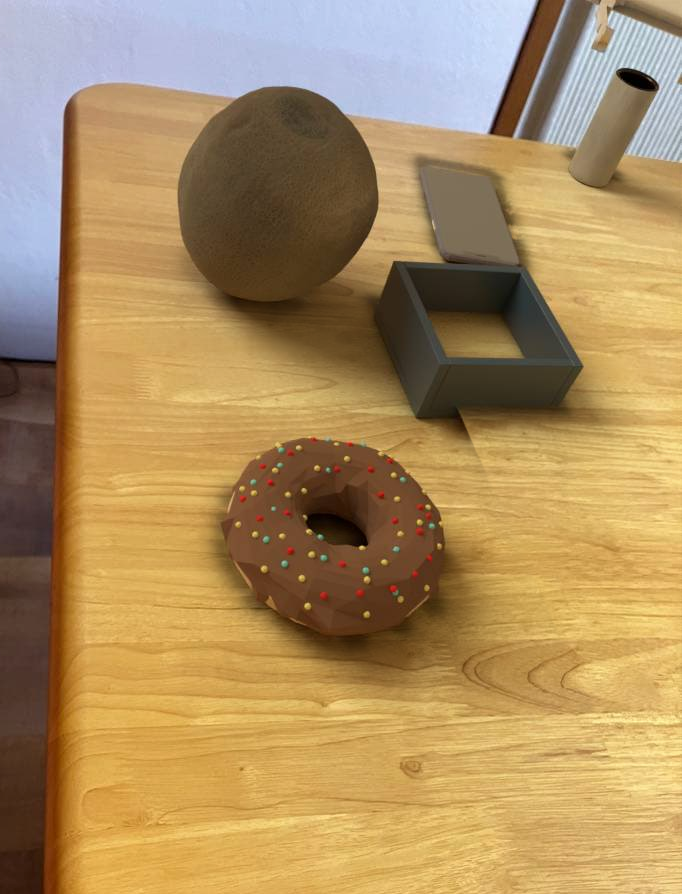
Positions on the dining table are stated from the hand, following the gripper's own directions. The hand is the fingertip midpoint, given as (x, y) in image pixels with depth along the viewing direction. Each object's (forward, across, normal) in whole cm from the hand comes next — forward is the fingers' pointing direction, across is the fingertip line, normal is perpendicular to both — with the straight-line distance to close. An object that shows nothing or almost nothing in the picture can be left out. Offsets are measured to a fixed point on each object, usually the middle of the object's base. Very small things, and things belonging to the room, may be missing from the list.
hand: (641, 65), depth 90 cm
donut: (+56, -7, -41) cm, 70 cm away
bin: (+38, -4, -24) cm, 46 cm away
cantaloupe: (+40, -21, -25) cm, 52 cm away
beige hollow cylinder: (+11, 0, +4) cm, 11 cm away
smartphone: (+24, -9, -10) cm, 28 cm away
